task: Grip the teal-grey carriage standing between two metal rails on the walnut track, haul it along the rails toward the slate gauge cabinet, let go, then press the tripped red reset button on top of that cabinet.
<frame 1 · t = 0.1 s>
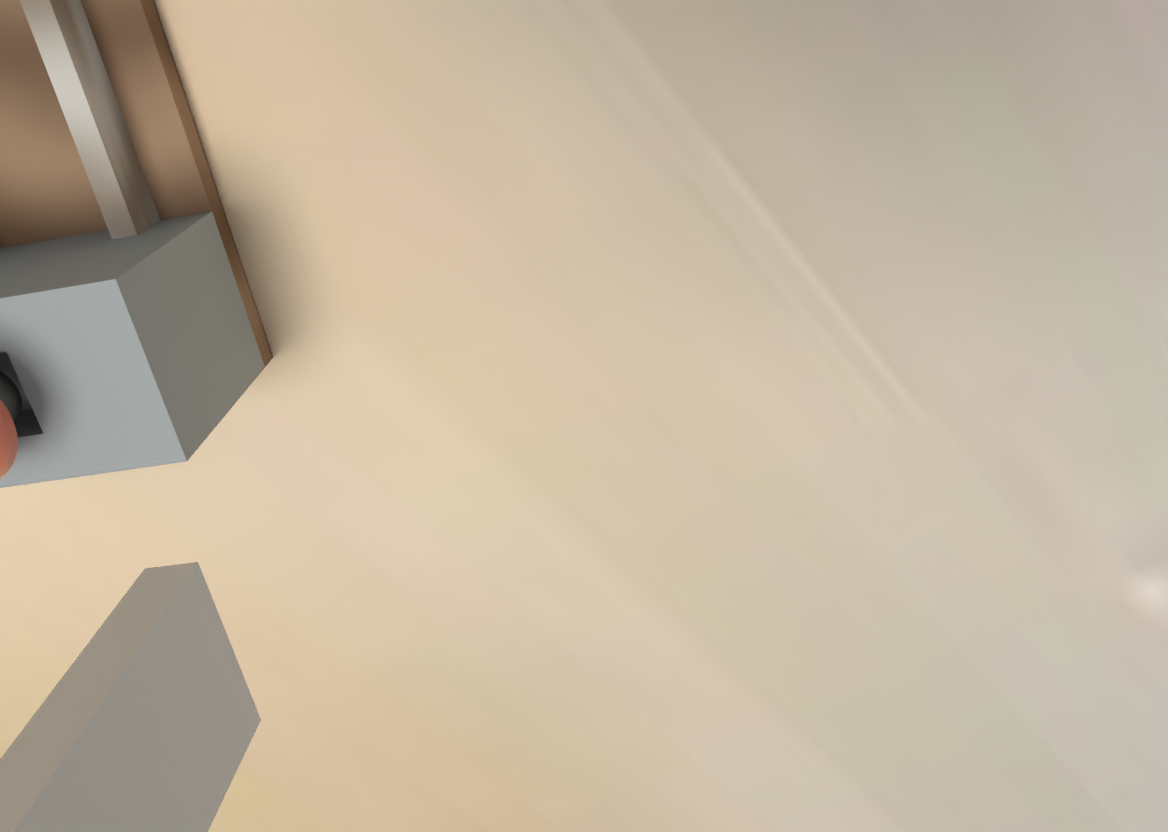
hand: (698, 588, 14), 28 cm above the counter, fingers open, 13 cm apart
rail track: (0, 31, 38), on the counter
gauge cabinet: (109, 306, 43), resting on rail track
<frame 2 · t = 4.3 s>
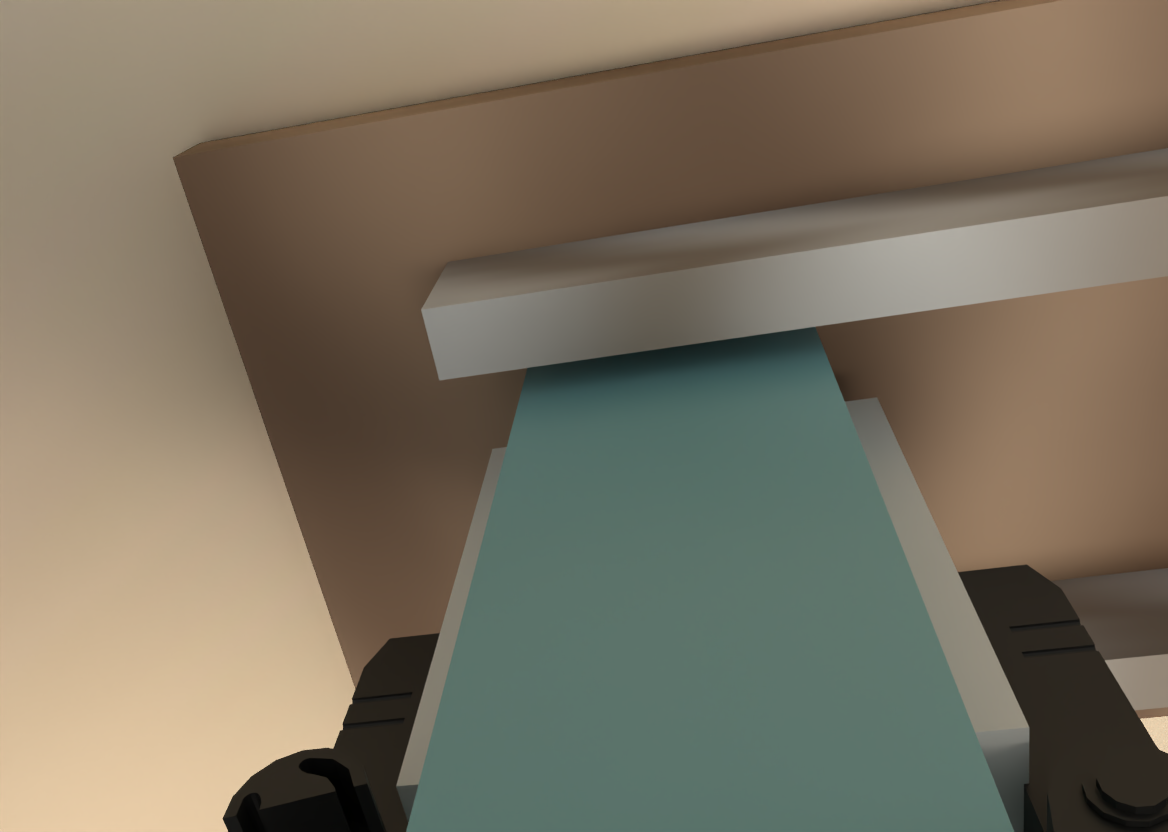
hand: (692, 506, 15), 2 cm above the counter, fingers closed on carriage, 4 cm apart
rail track: (1165, 376, 16), on the counter
carriage: (708, 717, 11), point 7 cm above the counter, slide at 0.0 cm, touching gripper
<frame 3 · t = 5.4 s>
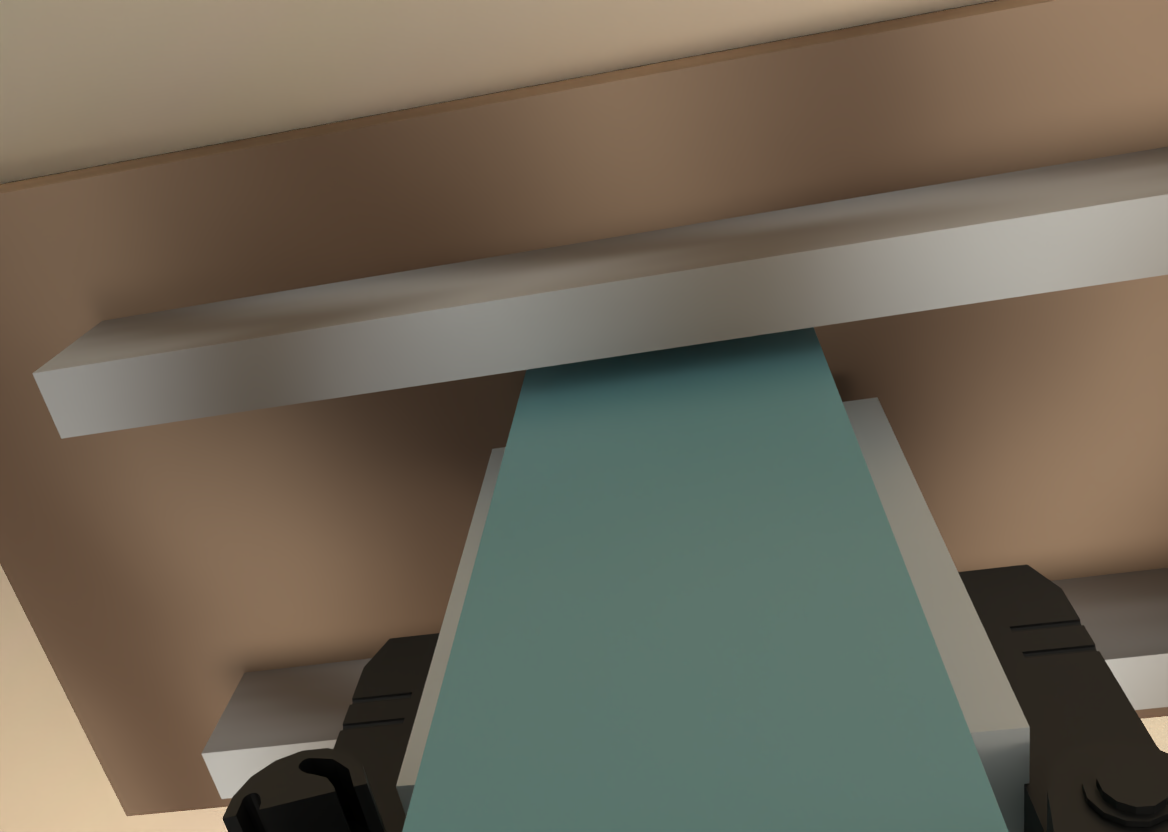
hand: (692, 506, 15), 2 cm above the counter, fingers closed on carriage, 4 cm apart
rail track: (814, 423, 17), on the counter
carriage: (707, 717, 11), point 7 cm above the counter, slide at 5.4 cm, touching gripper
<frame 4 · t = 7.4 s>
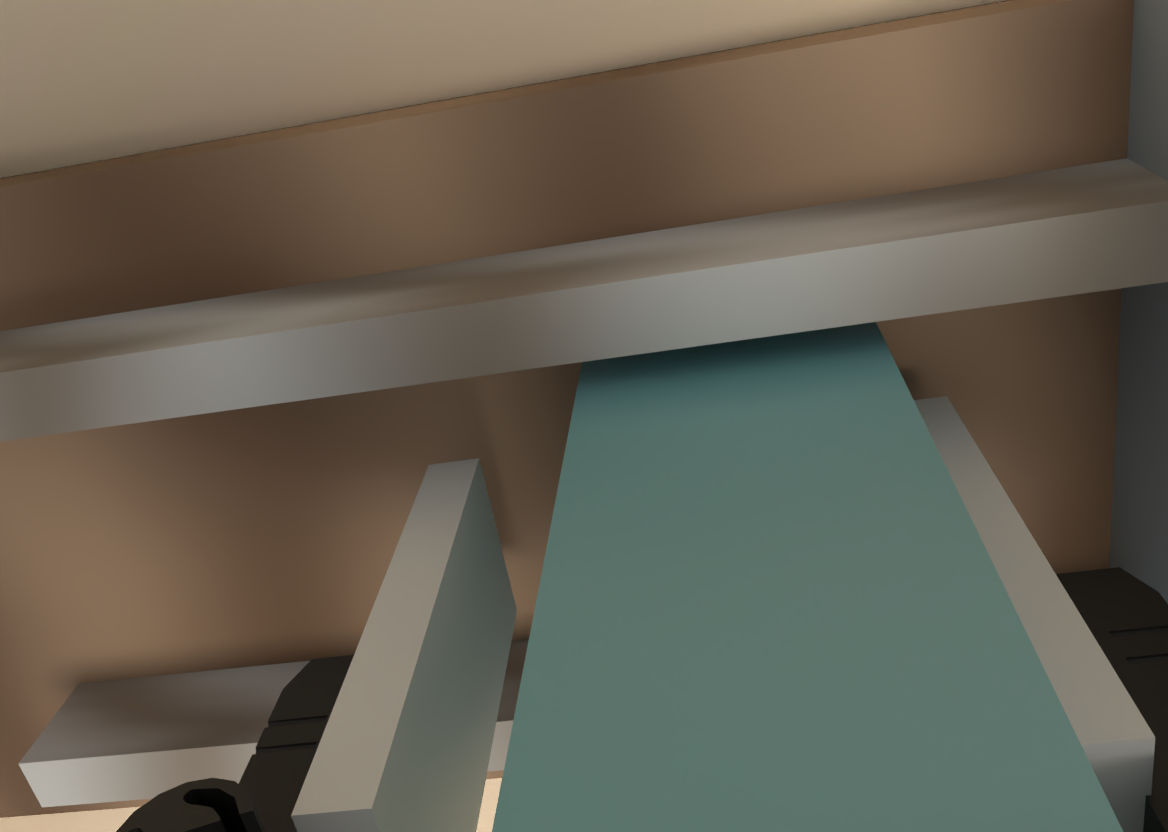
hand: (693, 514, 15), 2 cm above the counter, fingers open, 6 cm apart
rail track: (618, 450, 17), on the counter
carriage: (773, 717, 11), point 7 cm above the counter, slide at 9.5 cm
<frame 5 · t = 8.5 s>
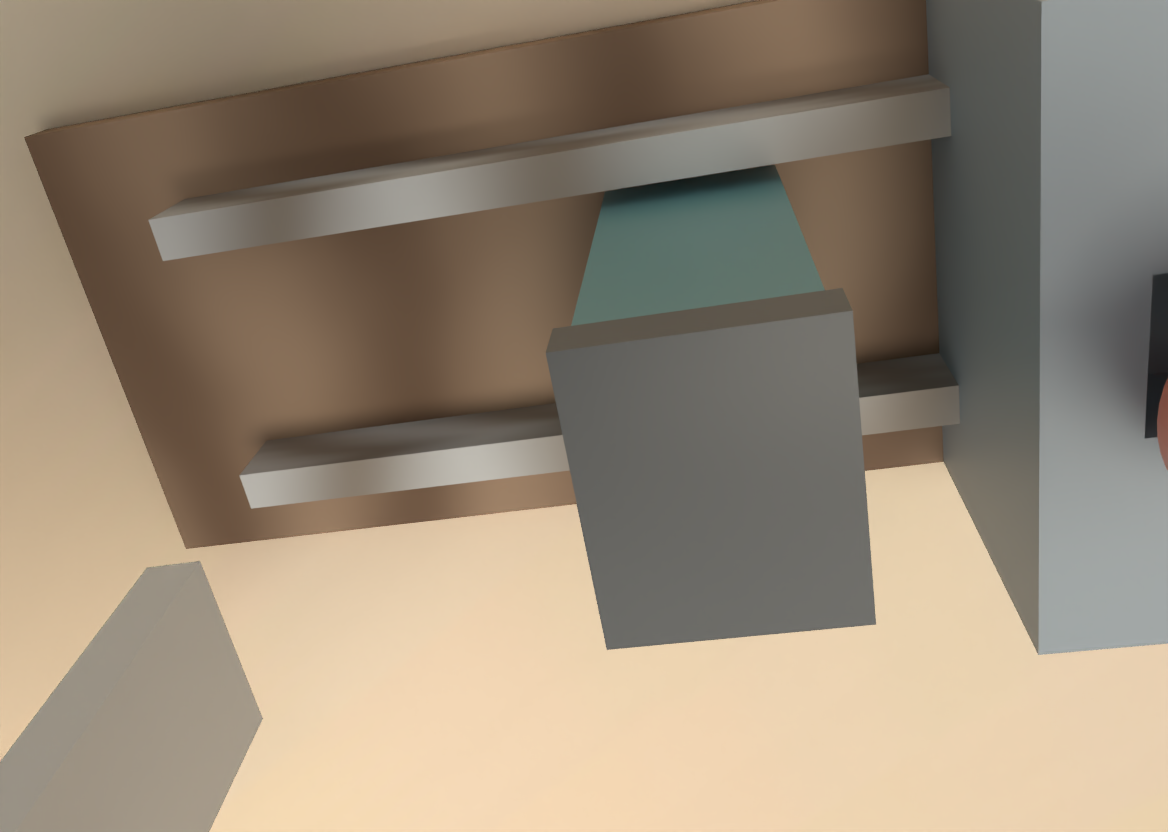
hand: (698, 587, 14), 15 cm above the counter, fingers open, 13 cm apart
rail track: (627, 274, 27), on the counter
carriage: (708, 362, 21), point 7 cm above the counter, slide at 9.4 cm
gauge cabinet: (1063, 210, 26), resting on rail track
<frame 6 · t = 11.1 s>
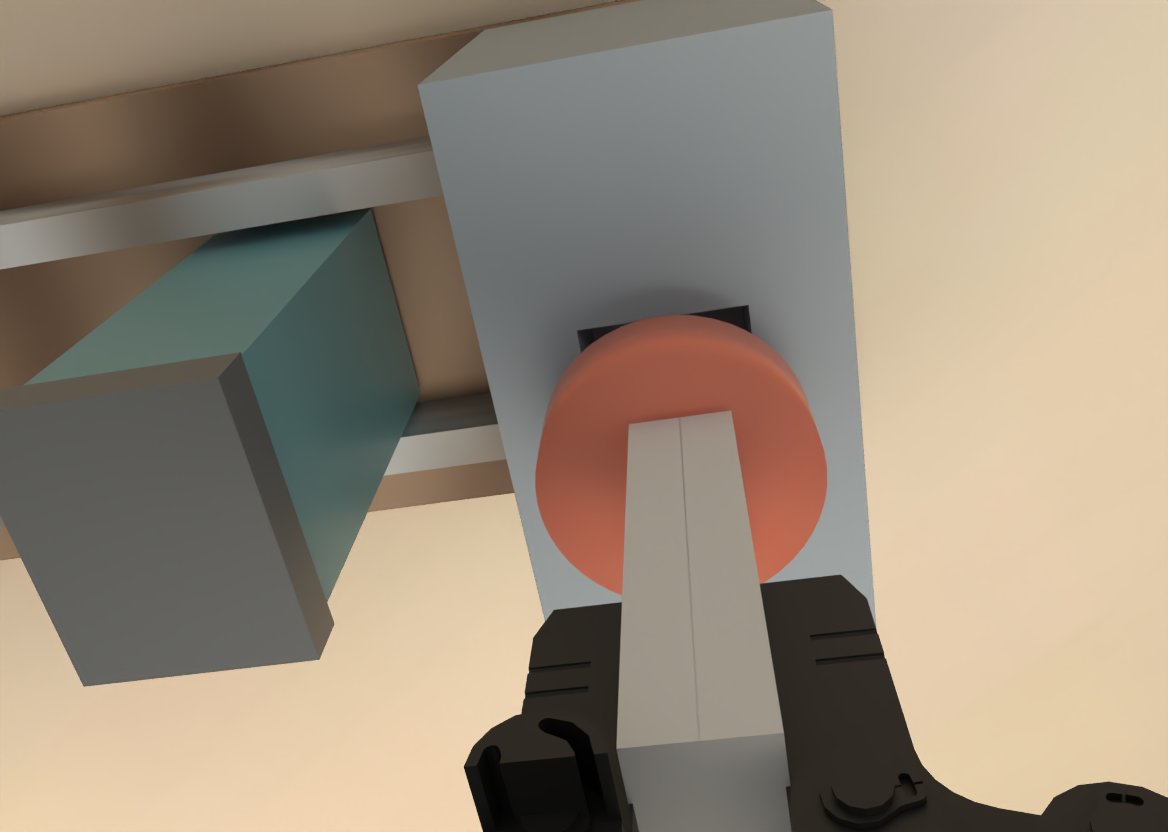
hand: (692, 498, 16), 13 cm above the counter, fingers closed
reset button: (676, 429, 18), point 10 cm above the counter, slide at 0.2 cm, touching gripper
rail track: (266, 309, 28), on the counter
carriage: (252, 405, 22), point 7 cm above the counter, slide at 9.4 cm
gauge cabinet: (663, 247, 27), resting on rail track
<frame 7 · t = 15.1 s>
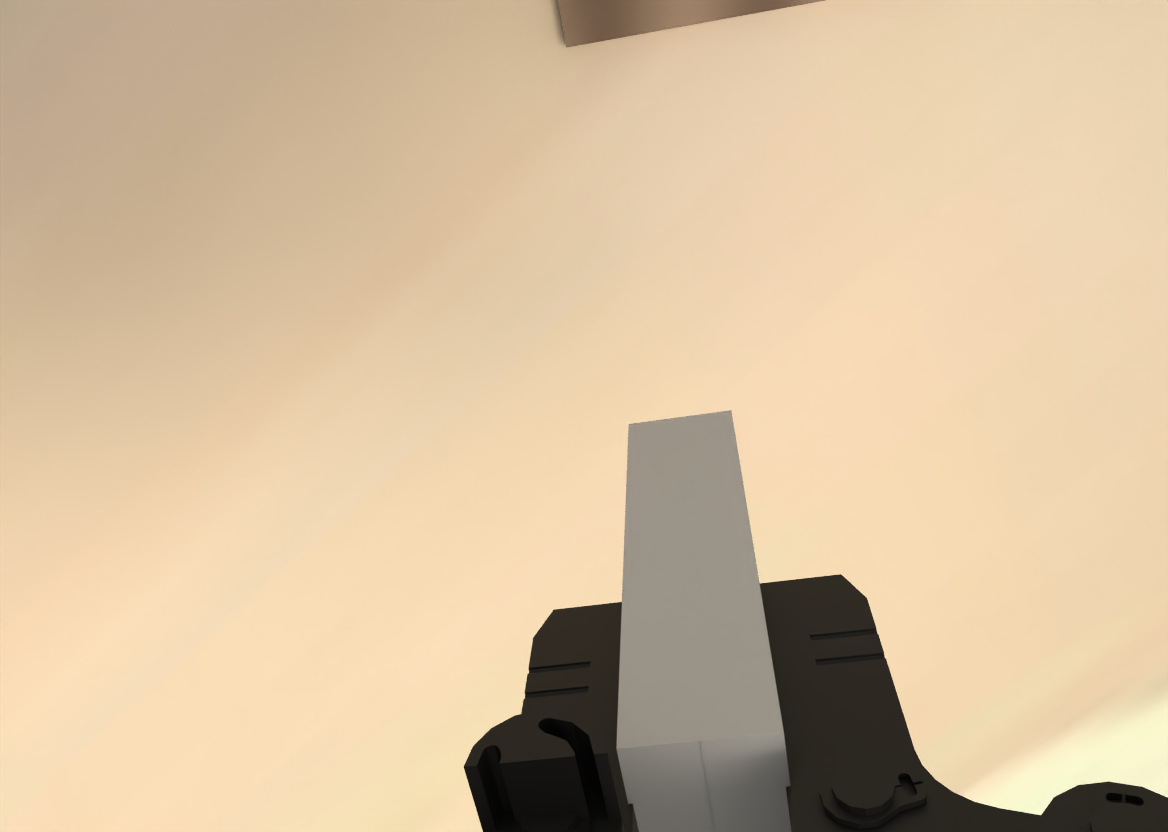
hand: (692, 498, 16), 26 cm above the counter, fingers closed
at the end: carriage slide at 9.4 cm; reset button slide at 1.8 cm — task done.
